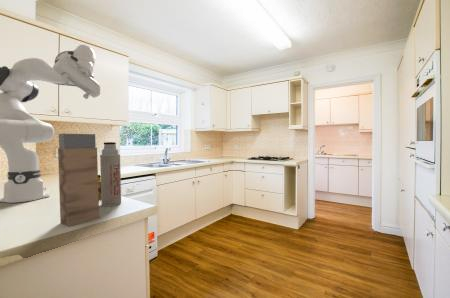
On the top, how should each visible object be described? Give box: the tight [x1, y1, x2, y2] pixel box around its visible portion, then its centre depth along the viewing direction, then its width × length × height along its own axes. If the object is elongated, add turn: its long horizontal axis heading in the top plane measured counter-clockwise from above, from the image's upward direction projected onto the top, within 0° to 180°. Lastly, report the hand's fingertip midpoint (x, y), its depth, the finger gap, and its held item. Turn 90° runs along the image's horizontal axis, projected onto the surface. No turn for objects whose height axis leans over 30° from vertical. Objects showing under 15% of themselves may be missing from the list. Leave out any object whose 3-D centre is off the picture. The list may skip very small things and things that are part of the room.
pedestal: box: [57, 147, 100, 227], centre depth 79 cm, size 6×10×26 cm, turn 147°
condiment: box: [98, 174, 101, 201], centre depth 107 cm, size 7×8×12 cm
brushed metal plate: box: [58, 133, 97, 149], centre depth 81 cm, size 13×10×5 cm
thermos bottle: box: [99, 141, 122, 207], centre depth 100 cm, size 8×8×28 cm
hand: (75, 91), depth 97 cm, fingers open, 8 cm apart
